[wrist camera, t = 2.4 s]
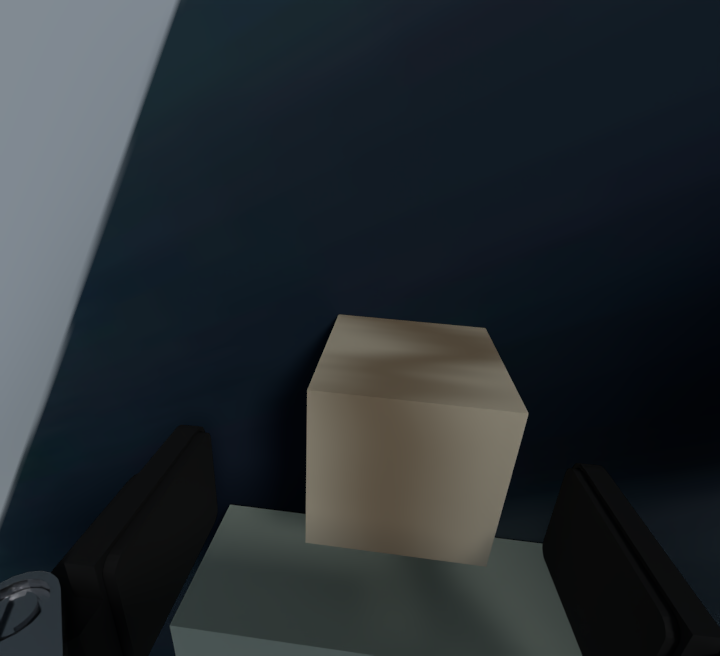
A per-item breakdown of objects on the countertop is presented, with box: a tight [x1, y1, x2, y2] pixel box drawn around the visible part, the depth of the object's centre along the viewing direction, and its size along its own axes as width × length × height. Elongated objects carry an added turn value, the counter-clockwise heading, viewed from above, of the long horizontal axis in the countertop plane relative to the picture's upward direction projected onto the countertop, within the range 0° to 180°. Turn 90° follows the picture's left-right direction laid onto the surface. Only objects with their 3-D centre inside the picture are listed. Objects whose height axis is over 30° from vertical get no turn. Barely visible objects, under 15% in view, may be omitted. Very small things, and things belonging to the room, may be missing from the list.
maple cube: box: [305, 315, 529, 567], centre depth 12 cm, size 5×5×5 cm
